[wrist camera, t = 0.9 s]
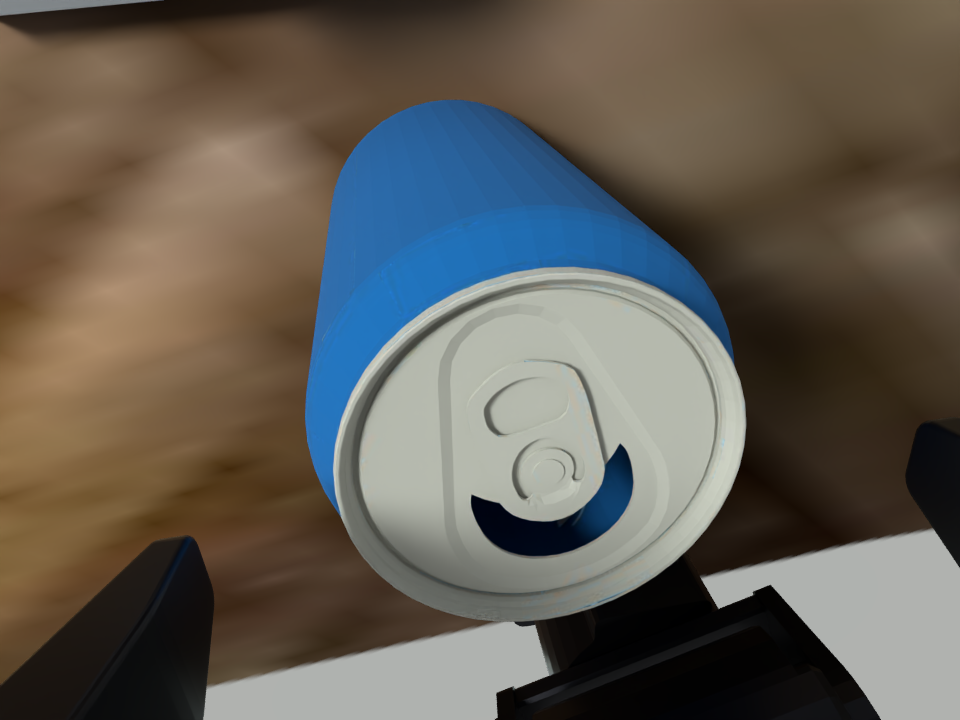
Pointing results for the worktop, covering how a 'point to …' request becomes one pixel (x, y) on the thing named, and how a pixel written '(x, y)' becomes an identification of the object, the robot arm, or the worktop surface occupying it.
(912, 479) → the robot arm
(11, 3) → the socket
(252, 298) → the worktop surface
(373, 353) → the beverage can
